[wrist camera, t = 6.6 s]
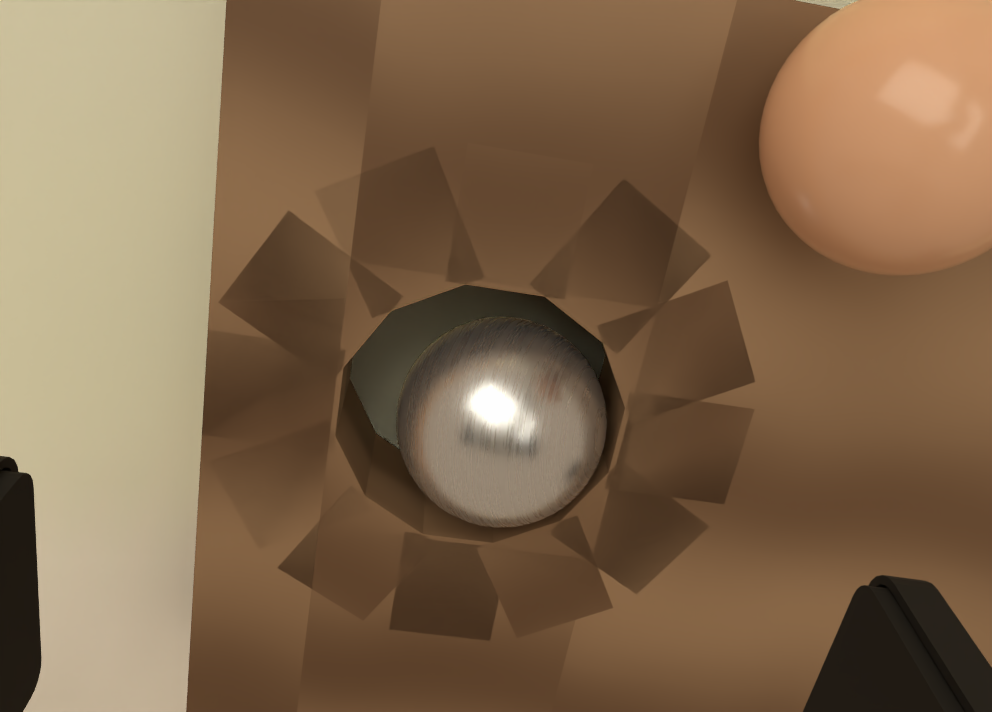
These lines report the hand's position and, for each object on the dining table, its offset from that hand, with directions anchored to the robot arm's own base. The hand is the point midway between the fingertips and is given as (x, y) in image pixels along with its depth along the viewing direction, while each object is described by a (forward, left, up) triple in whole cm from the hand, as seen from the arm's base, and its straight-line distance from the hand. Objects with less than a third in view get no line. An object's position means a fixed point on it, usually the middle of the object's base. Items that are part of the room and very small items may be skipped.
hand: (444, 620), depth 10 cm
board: (+1, +5, -9) cm, 11 cm away
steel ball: (+1, +1, -7) cm, 7 cm away
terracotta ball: (-6, +6, -5) cm, 9 cm away
